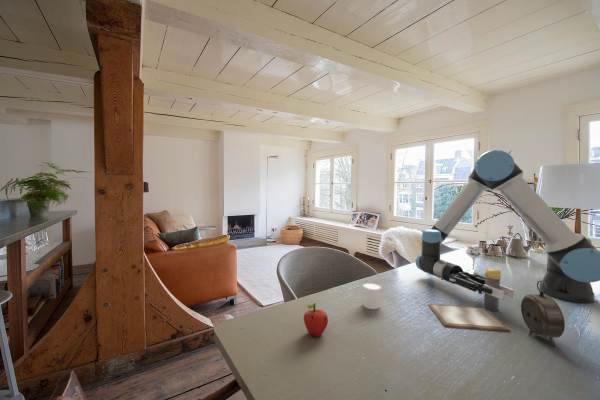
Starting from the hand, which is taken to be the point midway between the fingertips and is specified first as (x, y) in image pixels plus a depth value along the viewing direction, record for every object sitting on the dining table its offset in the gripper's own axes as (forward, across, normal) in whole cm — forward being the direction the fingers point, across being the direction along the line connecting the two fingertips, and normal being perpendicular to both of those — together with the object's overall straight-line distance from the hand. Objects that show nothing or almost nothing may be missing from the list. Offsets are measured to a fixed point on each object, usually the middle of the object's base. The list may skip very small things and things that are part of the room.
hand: (508, 294), depth 85 cm
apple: (-8, +64, -7) cm, 65 cm away
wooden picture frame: (-3, +14, -7) cm, 16 cm away
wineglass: (-37, -30, -7) cm, 48 cm away
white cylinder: (-19, +39, -7) cm, 44 cm away
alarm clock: (+11, +4, -7) cm, 14 cm away
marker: (-5, 0, -7) cm, 9 cm away
